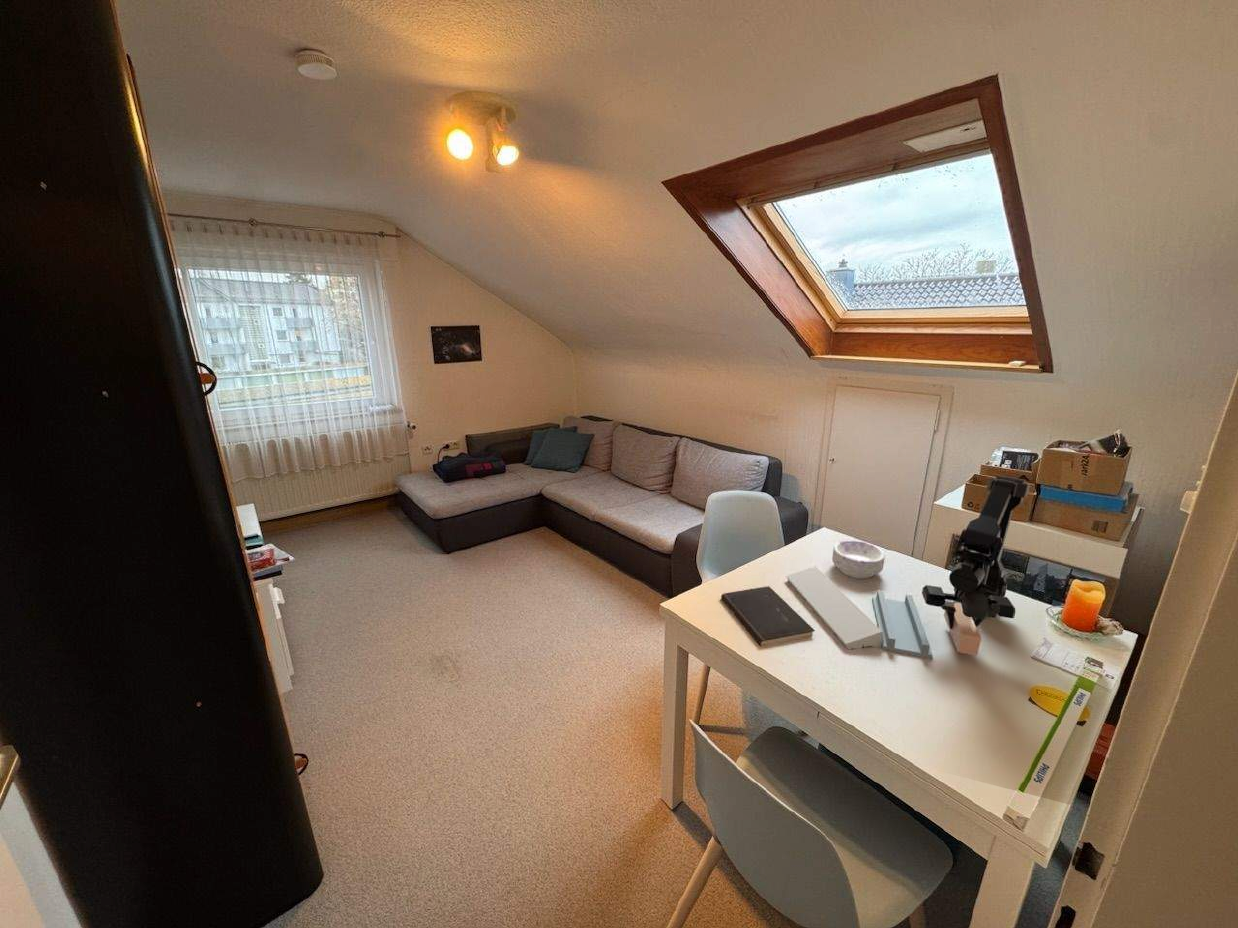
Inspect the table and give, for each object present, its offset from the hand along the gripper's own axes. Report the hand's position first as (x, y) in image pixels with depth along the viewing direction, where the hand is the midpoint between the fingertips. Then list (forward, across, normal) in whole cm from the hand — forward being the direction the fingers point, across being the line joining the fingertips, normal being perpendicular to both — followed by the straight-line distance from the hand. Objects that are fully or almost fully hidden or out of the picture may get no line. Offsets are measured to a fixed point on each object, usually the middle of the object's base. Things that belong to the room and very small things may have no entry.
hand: (960, 629), depth 128 cm
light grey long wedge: (+5, -31, +5) cm, 31 cm away
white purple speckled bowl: (+4, -22, +32) cm, 39 cm away
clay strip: (+1, 0, 0) cm, 1 cm away
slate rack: (+4, -13, +3) cm, 14 cm away
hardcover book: (+5, -48, -4) cm, 48 cm away
